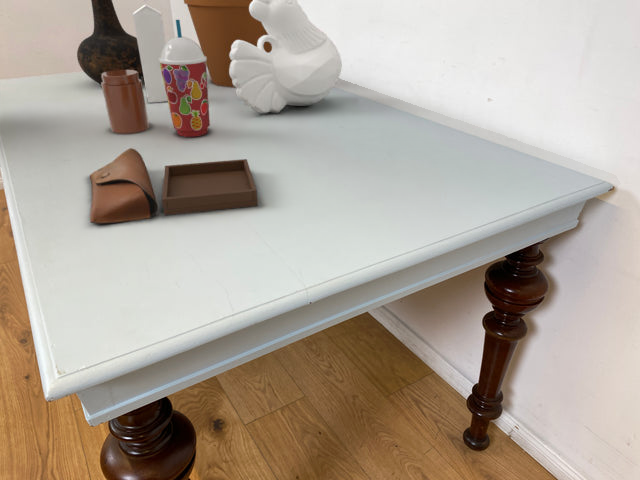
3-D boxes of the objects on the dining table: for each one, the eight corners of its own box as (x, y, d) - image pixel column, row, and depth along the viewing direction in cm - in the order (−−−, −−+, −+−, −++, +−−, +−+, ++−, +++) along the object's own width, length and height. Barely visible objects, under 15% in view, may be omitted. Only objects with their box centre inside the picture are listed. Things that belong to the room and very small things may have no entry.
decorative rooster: (334, 65, 118) (266, -24, 106) (364, 63, 104) (290, -40, 92) (264, 137, 117) (188, 55, 105) (285, 145, 103) (200, 51, 91)
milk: (148, 103, 113) (128, -2, 101) (148, 97, 118) (130, -4, 106) (175, 101, 114) (158, -3, 103) (174, 95, 119) (158, -5, 108)
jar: (109, 134, 92) (96, 77, 86) (113, 124, 98) (101, 70, 92) (148, 132, 93) (138, 75, 88) (150, 121, 99) (141, 68, 94)
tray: (164, 215, 63) (161, 199, 61) (167, 179, 73) (165, 165, 72) (257, 205, 65) (256, 190, 64) (247, 172, 75) (246, 158, 74)
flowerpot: (269, 67, 151) (264, -18, 139) (313, 84, 130) (312, -14, 119) (181, 76, 139) (168, -16, 127) (214, 96, 118) (202, -11, 106)
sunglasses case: (85, 174, 73) (101, 134, 72) (131, 189, 77) (147, 152, 76) (89, 225, 59) (108, 177, 57) (145, 240, 63) (165, 196, 61)
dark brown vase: (157, 75, 141) (140, -35, 126) (146, 88, 125) (125, -35, 111) (94, 76, 138) (68, -36, 124) (75, 90, 123) (44, -35, 109)
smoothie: (214, 125, 97) (202, 17, 87) (215, 138, 90) (202, 21, 80) (171, 127, 96) (154, 17, 86) (169, 141, 89) (150, 22, 79)
